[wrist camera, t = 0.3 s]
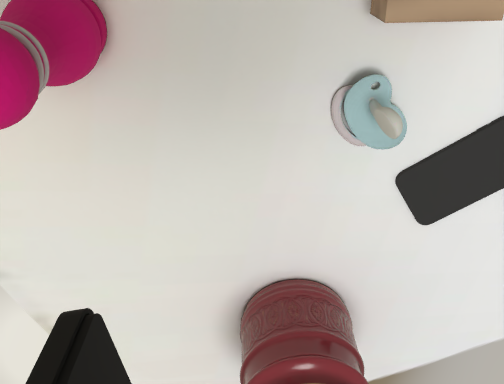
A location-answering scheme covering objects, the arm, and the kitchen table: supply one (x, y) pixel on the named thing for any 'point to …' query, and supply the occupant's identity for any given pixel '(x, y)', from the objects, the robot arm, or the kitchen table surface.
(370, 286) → the kitchen table surface
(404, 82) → the kitchen table surface
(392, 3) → the block
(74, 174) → the kitchen table surface
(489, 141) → the phone
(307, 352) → the canister
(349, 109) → the pacifier
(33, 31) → the pepper mill
